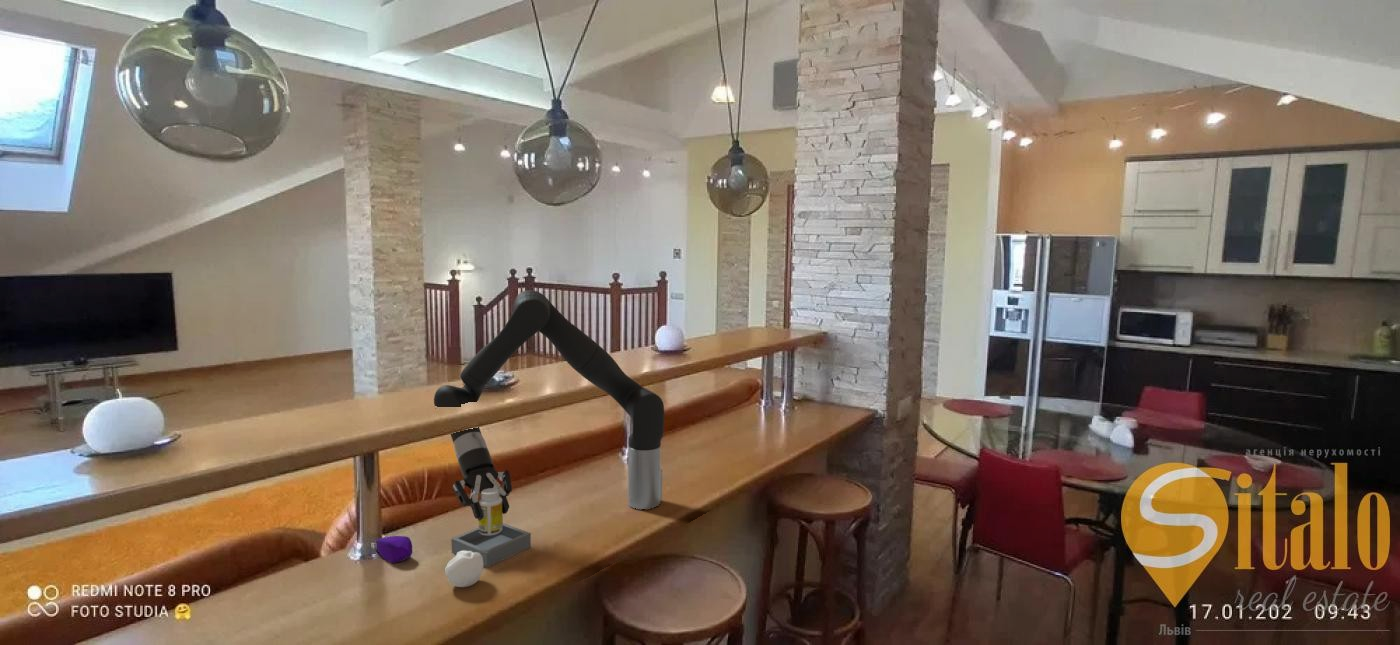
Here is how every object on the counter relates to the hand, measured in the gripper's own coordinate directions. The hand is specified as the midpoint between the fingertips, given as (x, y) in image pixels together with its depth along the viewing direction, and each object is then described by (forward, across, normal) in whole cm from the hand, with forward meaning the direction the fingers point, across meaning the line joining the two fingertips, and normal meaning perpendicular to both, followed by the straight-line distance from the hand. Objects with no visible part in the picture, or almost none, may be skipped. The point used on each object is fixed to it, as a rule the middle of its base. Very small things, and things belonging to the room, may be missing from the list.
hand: (493, 515), depth 155 cm
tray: (+5, 0, +8) cm, 9 cm away
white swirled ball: (+14, -11, -1) cm, 18 cm away
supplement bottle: (+2, 0, +5) cm, 5 cm away
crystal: (-3, -19, +16) cm, 25 cm away
